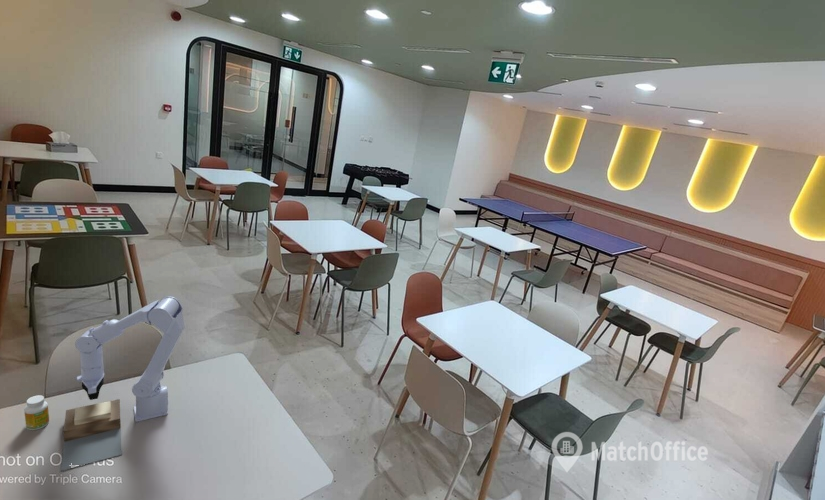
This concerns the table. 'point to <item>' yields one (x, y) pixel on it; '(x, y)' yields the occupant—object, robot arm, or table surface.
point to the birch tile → (92, 413)
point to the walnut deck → (91, 424)
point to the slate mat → (91, 449)
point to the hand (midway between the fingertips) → (93, 398)
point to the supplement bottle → (36, 413)
